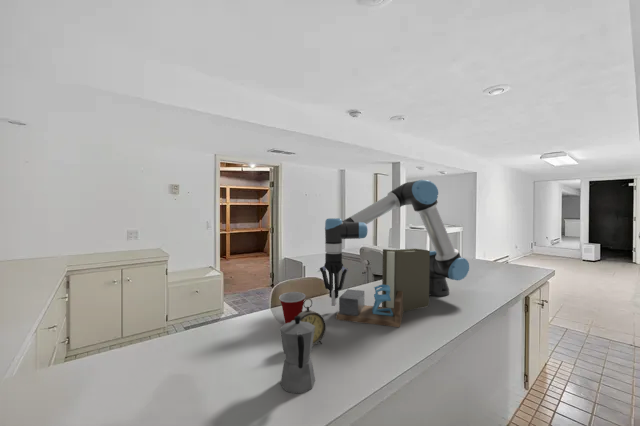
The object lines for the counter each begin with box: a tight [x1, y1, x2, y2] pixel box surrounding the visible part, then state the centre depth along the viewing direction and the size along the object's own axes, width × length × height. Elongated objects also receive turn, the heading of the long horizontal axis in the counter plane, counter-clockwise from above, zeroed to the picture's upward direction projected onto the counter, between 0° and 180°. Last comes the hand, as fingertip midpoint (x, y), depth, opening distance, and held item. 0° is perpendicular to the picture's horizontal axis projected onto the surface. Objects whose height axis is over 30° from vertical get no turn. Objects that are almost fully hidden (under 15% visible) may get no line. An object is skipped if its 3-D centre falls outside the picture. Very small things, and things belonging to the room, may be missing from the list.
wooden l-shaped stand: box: [335, 291, 404, 328], centre depth 128 cm, size 26×16×10 cm, turn 70°
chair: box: [372, 284, 393, 316], centre depth 127 cm, size 8×8×12 cm
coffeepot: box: [279, 316, 316, 394], centre depth 78 cm, size 15×9×18 cm, turn 10°
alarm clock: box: [297, 298, 327, 347], centre depth 101 cm, size 11×5×16 cm, turn 117°
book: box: [381, 248, 431, 313], centre depth 141 cm, size 22×9×28 cm, turn 118°
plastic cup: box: [278, 291, 307, 324], centre depth 119 cm, size 11×11×12 cm
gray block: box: [338, 288, 365, 316], centre depth 131 cm, size 8×14×7 cm, turn 160°
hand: (334, 304), depth 134 cm, fingers closed
